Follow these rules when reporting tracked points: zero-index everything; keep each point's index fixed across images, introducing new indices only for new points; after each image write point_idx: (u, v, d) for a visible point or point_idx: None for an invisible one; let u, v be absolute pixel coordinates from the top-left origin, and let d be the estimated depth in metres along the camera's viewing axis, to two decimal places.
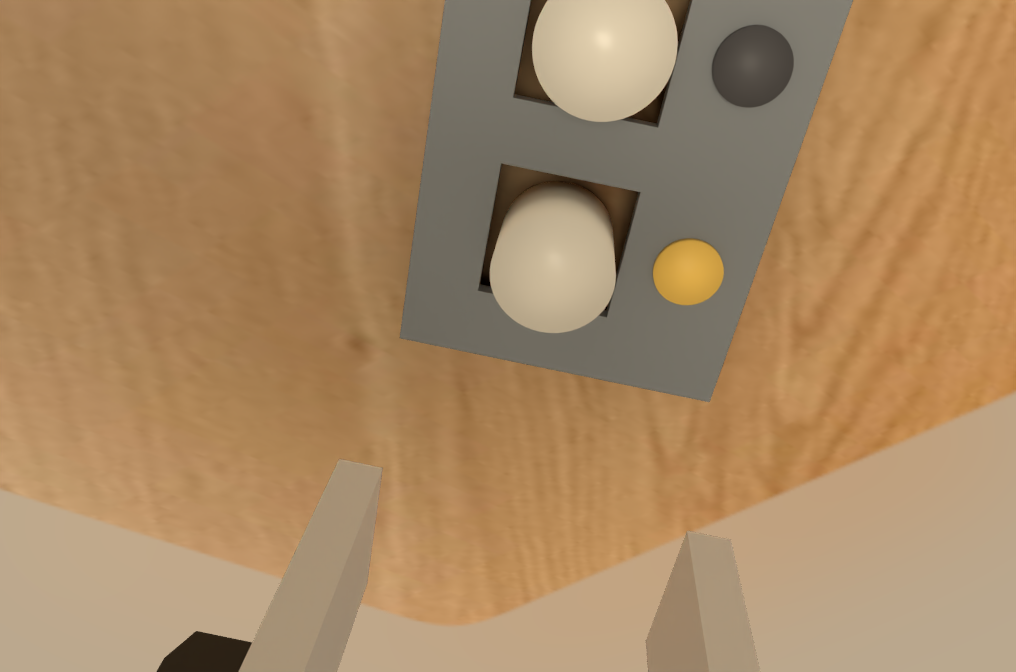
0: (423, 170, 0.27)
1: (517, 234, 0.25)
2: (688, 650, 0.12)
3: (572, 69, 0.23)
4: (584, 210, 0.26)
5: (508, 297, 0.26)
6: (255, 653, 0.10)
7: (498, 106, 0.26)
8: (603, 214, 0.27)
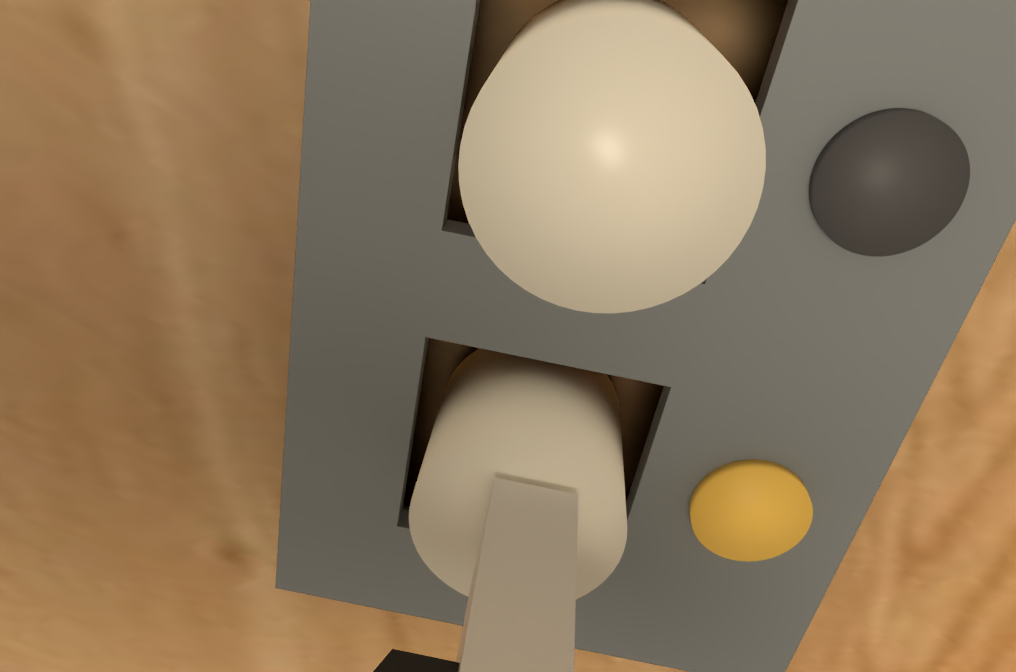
0: (292, 345, 0.16)
1: (454, 465, 0.14)
2: None
3: (543, 215, 0.11)
4: (571, 410, 0.15)
5: (442, 556, 0.15)
6: None
7: (415, 244, 0.14)
8: (605, 399, 0.16)
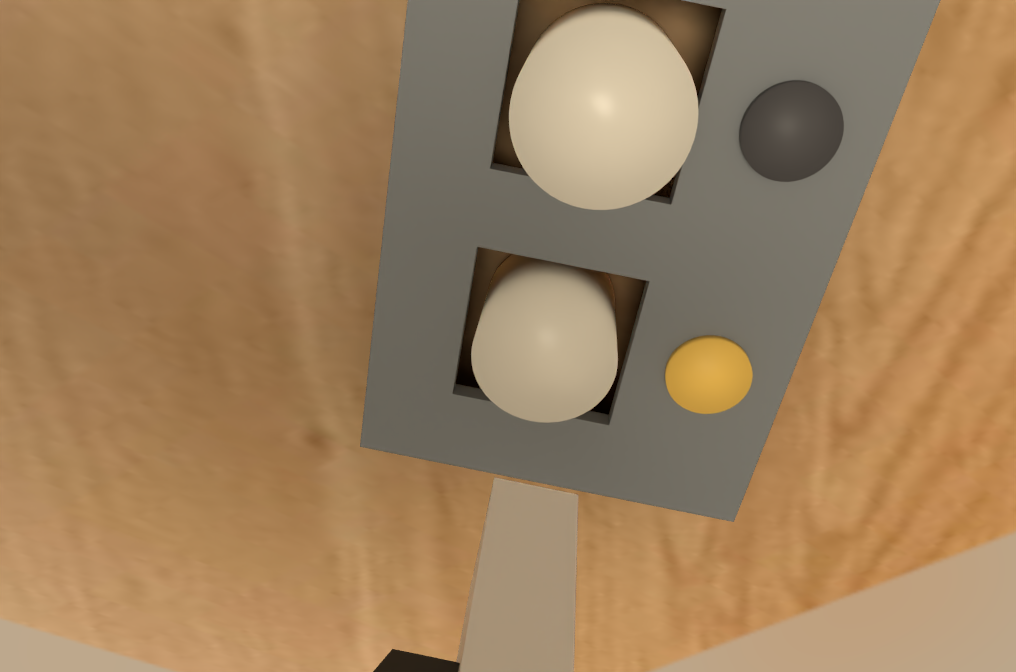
0: (382, 254, 0.22)
1: (503, 313, 0.21)
2: None
3: (561, 145, 0.17)
4: (580, 282, 0.22)
5: (493, 383, 0.22)
6: None
7: (471, 178, 0.21)
8: (603, 282, 0.24)
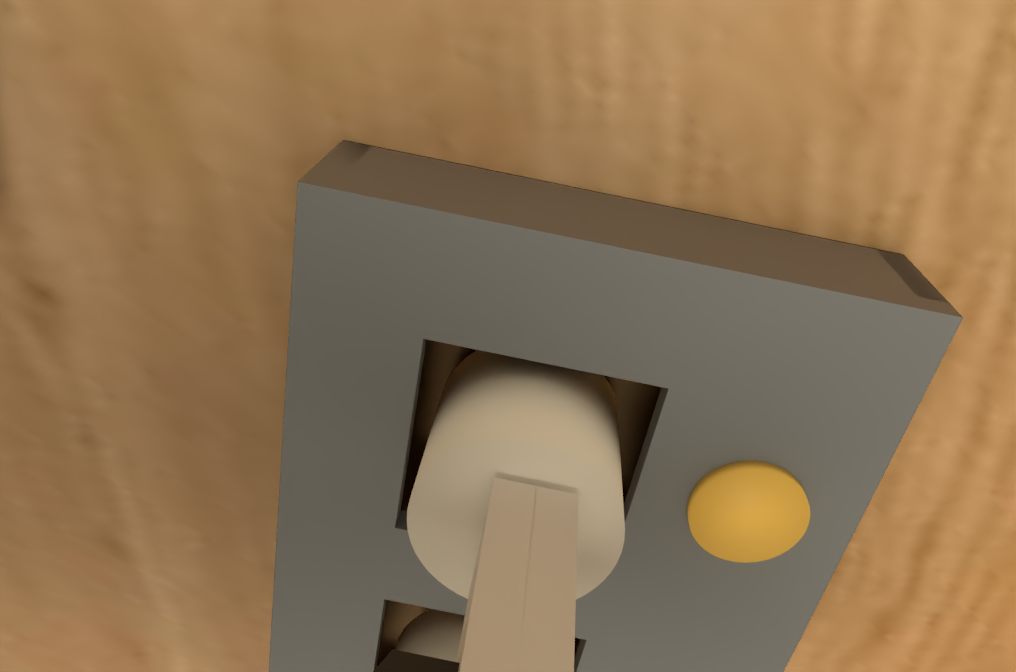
0: None
1: None
2: None
3: None
4: None
5: None
6: None
7: None
8: None
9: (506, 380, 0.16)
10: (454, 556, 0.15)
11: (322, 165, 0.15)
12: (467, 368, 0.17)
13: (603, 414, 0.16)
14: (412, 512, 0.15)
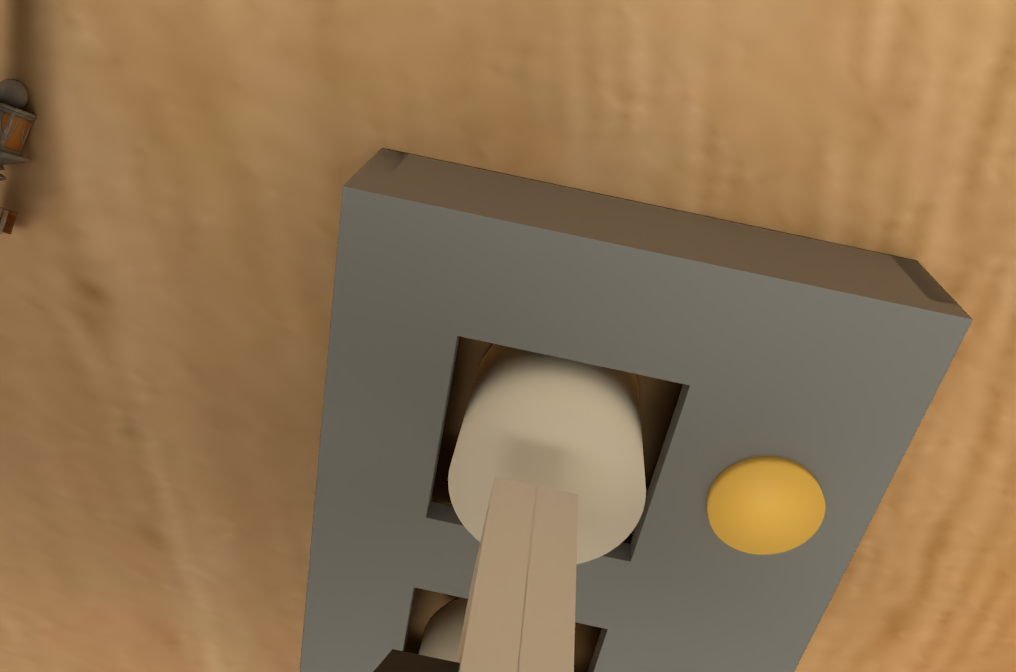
0: None
1: None
2: None
3: None
4: None
5: None
6: None
7: None
8: None
9: (539, 356, 0.17)
10: None
11: (364, 171, 0.16)
12: (501, 347, 0.18)
13: (626, 388, 0.17)
14: (453, 473, 0.16)
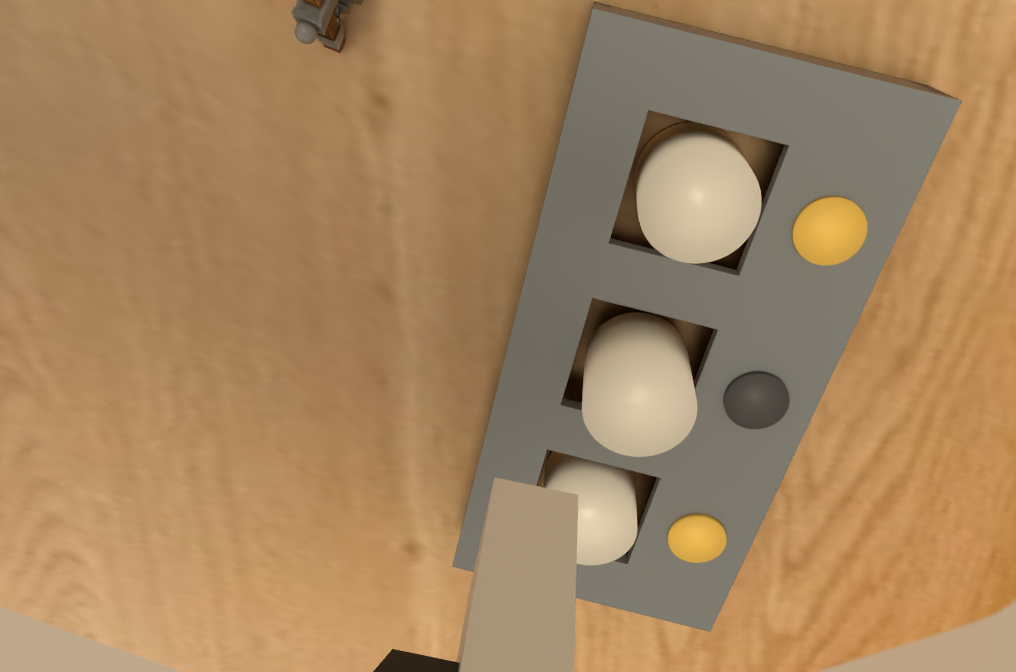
0: (482, 449, 0.33)
1: None
2: None
3: (613, 420, 0.28)
4: (614, 475, 0.33)
5: None
6: None
7: (547, 409, 0.32)
8: None
9: (691, 133, 0.27)
10: (662, 224, 0.27)
11: (596, 6, 0.26)
12: (661, 136, 0.29)
13: None
14: (642, 194, 0.27)
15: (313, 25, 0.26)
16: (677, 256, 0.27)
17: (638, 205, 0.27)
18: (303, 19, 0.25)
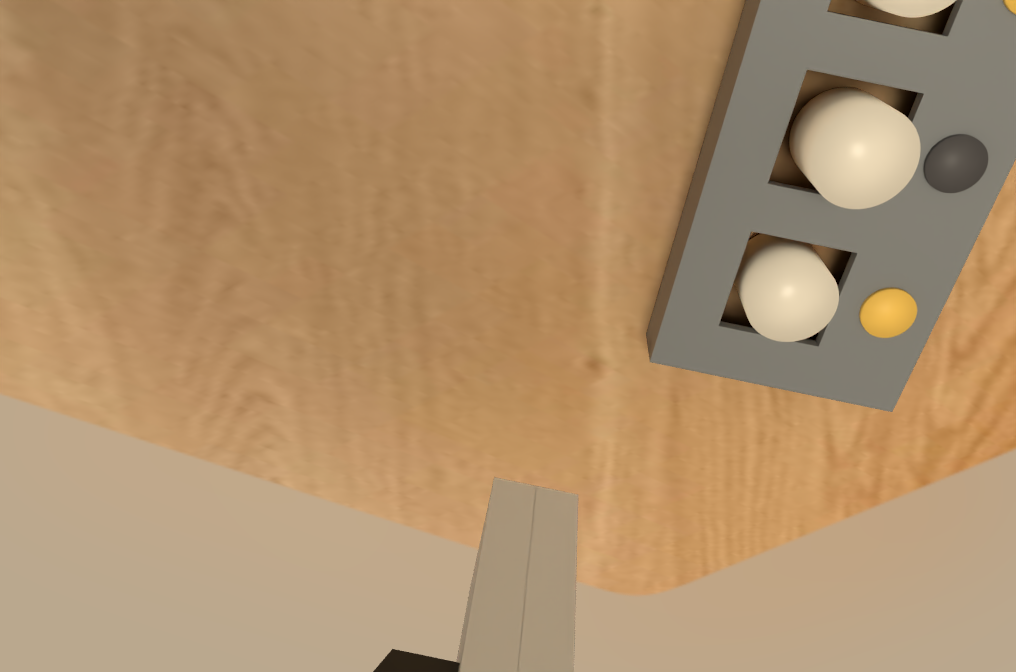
0: (689, 235, 0.36)
1: (770, 272, 0.35)
2: None
3: (839, 172, 0.31)
4: (812, 254, 0.36)
5: (757, 316, 0.36)
6: None
7: (755, 189, 0.35)
8: None
9: None
10: None
11: None
12: None
13: None
14: None
15: None
16: (900, 11, 0.30)
17: None
18: None
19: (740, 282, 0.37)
